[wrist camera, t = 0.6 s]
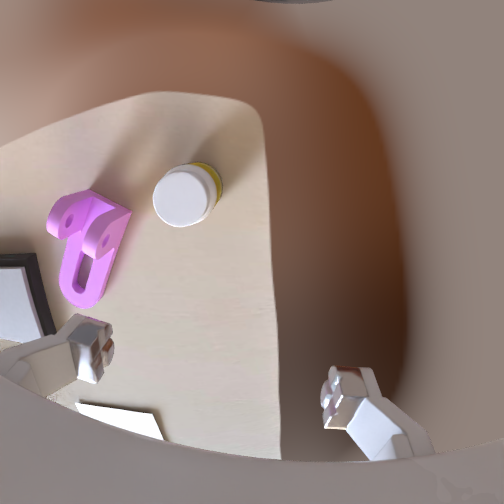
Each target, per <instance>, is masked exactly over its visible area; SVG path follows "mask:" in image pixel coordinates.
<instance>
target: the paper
mask: <svg viewBox="0 0 504 504" xmlns="http://www.w3.org/2000/svg"><path fill="white" fill-rule="evenodd" d="M75 404H76V405H77V407H78V409H79V411H80V413H81V414H84V415H86V416H89V417H91V418H94V419H97V420H99V421H102V422H105V423H108V424H111V425H113V426H116V427H119V428H123V429H126V430H129V431H132V432H135V433H139V434H142V435H145V436H149V437H153V438H156V439H160V440H163V437H162V435H161V433H160V430H159V428H158V426H157V424H156V421H155V419H154V417H153V415H152V414H148V413H140V412H133V411H126V410H120V409H113V408H106V407H98V406H92V405H85V404H79V403H75Z"/></svg>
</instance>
